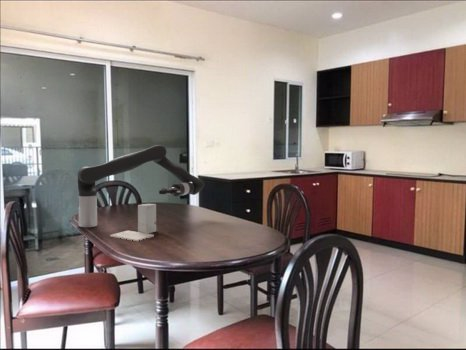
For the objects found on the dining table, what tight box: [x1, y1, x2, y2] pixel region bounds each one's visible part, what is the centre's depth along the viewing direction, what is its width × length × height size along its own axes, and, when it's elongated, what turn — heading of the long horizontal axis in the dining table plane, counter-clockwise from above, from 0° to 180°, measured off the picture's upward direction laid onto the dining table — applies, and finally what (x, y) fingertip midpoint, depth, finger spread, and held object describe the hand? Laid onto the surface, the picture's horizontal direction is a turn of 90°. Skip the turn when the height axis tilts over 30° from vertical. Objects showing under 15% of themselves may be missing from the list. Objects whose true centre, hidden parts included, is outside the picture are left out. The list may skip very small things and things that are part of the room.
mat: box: [109, 230, 155, 242], centre depth 189 cm, size 18×12×1 cm, turn 61°
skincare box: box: [137, 203, 157, 234], centre depth 198 cm, size 8×6×15 cm
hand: (160, 192), depth 207 cm, fingers closed
